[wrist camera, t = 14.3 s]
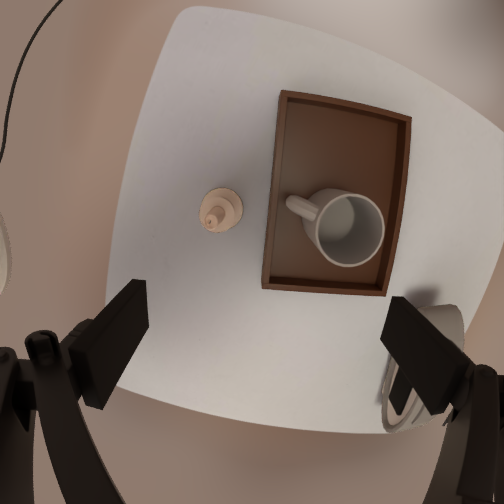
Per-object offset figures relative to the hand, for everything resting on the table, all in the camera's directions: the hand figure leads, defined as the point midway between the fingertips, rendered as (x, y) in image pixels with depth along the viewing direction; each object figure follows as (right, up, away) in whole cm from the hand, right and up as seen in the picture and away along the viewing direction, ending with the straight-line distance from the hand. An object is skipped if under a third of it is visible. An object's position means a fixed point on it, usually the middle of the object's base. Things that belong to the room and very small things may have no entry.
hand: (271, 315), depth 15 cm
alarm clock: (+24, -14, +28) cm, 39 cm away
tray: (+10, +10, +21) cm, 25 cm away
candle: (-5, +9, +22) cm, 24 cm away
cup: (+7, +8, +21) cm, 24 cm away
